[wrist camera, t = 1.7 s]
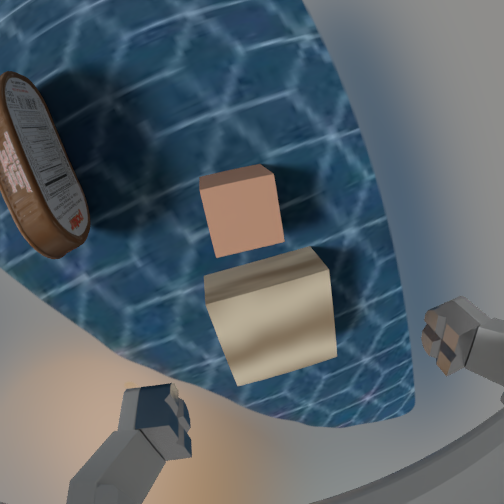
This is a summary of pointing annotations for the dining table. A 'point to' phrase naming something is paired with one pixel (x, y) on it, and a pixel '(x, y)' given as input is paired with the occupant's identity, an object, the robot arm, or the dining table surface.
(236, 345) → the base block
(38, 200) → the tin
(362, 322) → the dining table surface
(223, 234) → the cube
